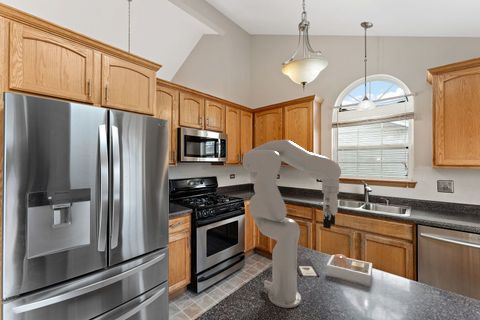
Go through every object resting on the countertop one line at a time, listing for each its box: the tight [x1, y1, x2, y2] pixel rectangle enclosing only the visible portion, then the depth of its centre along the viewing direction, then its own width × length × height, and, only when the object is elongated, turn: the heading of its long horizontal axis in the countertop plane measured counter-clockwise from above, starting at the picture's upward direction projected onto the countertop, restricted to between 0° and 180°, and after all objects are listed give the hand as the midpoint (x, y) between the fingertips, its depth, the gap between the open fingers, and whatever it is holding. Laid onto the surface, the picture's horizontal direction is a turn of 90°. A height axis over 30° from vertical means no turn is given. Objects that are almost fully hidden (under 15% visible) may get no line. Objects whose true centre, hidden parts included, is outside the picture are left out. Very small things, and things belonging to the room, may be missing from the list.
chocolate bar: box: [297, 258, 320, 278], centre depth 115 cm, size 9×1×18 cm
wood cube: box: [351, 261, 364, 273], centre depth 106 cm, size 5×5×5 cm
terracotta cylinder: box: [334, 253, 347, 268], centre depth 110 cm, size 5×5×7 cm
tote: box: [326, 254, 373, 288], centre depth 108 cm, size 18×14×5 cm
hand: (329, 226), depth 108 cm, fingers open, 9 cm apart
